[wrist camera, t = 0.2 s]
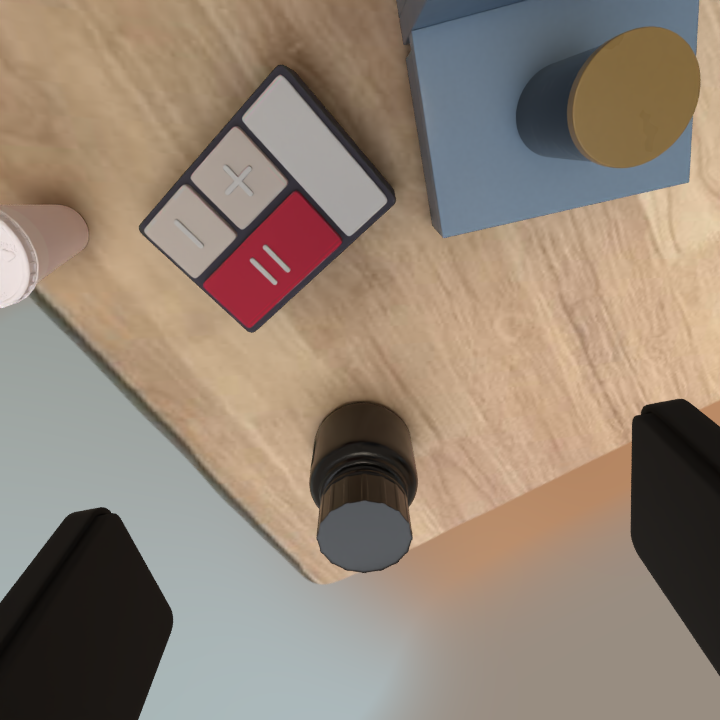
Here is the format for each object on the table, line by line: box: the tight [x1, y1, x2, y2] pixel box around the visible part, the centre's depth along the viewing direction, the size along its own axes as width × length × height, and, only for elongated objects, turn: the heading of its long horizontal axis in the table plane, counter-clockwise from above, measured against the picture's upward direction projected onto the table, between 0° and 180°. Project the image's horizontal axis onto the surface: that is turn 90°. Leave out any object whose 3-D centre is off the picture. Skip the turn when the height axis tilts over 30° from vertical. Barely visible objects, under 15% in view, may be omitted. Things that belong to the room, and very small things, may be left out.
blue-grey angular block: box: [396, 0, 699, 238], centre depth 26 cm, size 22×16×13 cm
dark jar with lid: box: [516, 26, 700, 168], centre depth 25 cm, size 6×6×9 cm
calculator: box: [139, 65, 396, 333], centre depth 35 cm, size 11×4×15 cm
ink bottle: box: [309, 403, 418, 573], centre depth 40 cm, size 10×9×12 cm
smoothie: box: [0, 205, 89, 308], centre depth 31 cm, size 6×6×14 cm
